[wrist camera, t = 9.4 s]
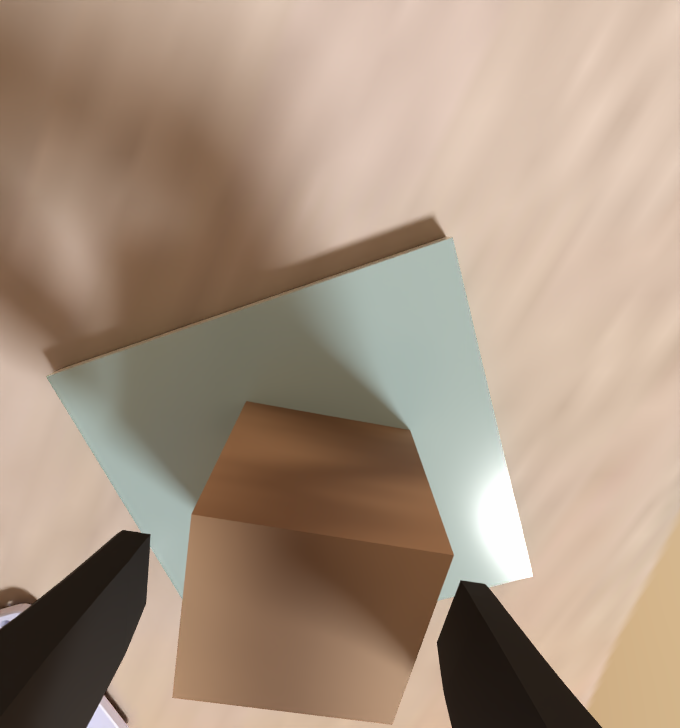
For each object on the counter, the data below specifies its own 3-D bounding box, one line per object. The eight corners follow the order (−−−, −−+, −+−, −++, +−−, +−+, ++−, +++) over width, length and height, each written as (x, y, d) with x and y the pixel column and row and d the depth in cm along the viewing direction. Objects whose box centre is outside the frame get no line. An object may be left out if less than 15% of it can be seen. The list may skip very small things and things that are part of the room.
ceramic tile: (221, 642, 16) (217, 657, 16) (59, 369, 13) (46, 376, 12) (525, 562, 15) (532, 576, 15) (446, 236, 11) (452, 237, 11)
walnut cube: (410, 429, 13) (453, 554, 8) (373, 557, 14) (391, 724, 10) (246, 400, 12) (191, 513, 8) (227, 535, 14) (172, 697, 9)
